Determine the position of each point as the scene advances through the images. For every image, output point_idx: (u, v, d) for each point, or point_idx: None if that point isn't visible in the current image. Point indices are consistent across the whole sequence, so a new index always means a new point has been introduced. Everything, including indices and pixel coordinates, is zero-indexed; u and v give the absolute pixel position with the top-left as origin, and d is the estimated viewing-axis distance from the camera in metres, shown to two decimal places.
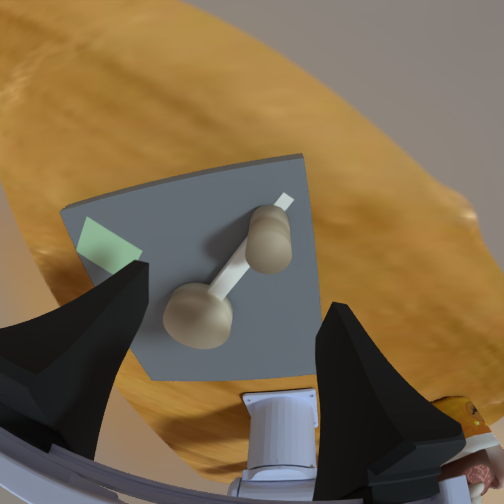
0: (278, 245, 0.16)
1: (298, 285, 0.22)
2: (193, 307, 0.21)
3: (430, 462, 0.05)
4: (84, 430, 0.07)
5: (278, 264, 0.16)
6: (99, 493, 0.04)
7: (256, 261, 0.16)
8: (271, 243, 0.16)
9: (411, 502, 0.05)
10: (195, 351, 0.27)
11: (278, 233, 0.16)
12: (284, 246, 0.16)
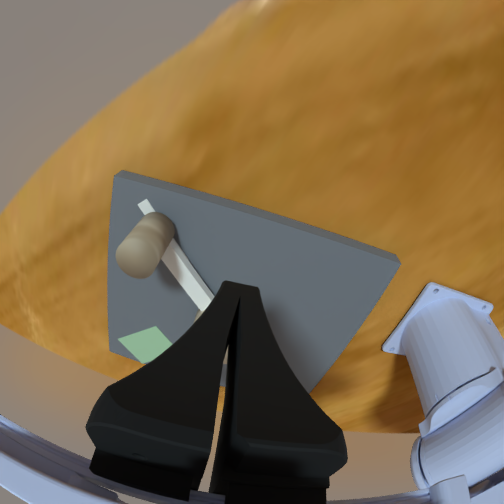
0: (127, 249, 0.16)
1: (243, 234, 0.20)
2: None
3: (301, 470, 0.05)
4: None
5: (146, 257, 0.16)
6: (99, 493, 0.04)
7: (138, 271, 0.16)
8: (124, 253, 0.16)
9: None
10: None
11: None
12: (129, 245, 0.16)
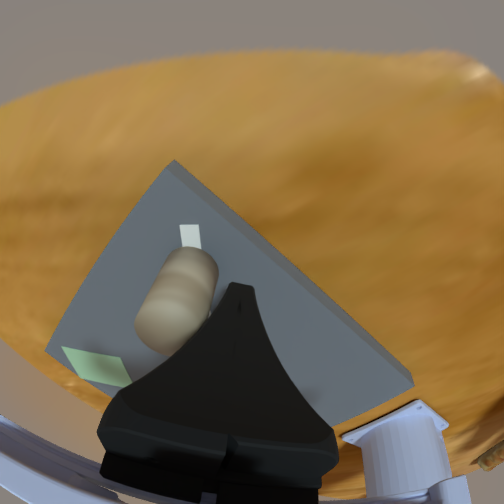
0: (164, 317, 0.10)
1: (297, 319, 0.15)
2: None
3: (292, 469, 0.05)
4: None
5: (189, 338, 0.10)
6: (99, 493, 0.04)
7: (163, 346, 0.10)
8: (155, 319, 0.10)
9: None
10: None
11: (155, 302, 0.10)
12: (171, 315, 0.09)
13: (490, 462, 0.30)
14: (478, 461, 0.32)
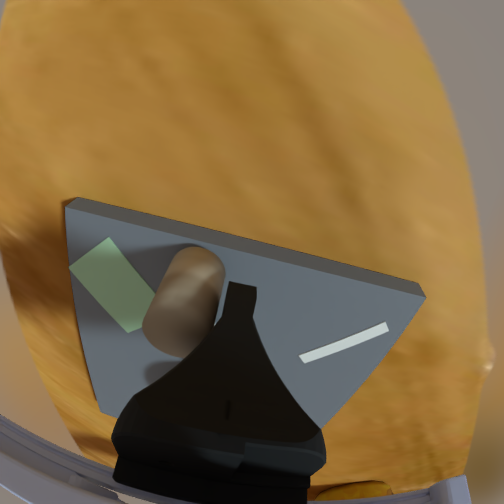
0: (174, 318, 0.10)
1: (330, 396, 0.18)
2: None
3: (279, 469, 0.05)
4: None
5: (198, 340, 0.10)
6: (99, 493, 0.04)
7: (170, 347, 0.10)
8: (164, 320, 0.10)
9: None
10: None
11: (165, 302, 0.10)
12: (181, 316, 0.09)
13: None
14: None
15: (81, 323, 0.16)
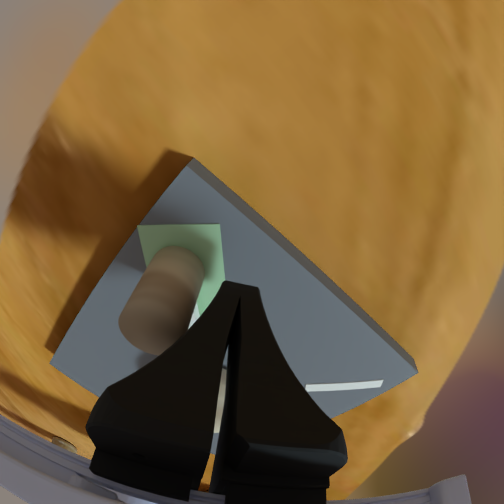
0: (146, 316, 0.10)
1: None
2: None
3: (301, 470, 0.05)
4: None
5: (172, 337, 0.10)
6: (99, 493, 0.04)
7: (148, 345, 0.10)
8: (137, 318, 0.10)
9: None
10: None
11: (137, 300, 0.10)
12: (152, 314, 0.09)
13: None
14: None
15: (103, 283, 0.14)
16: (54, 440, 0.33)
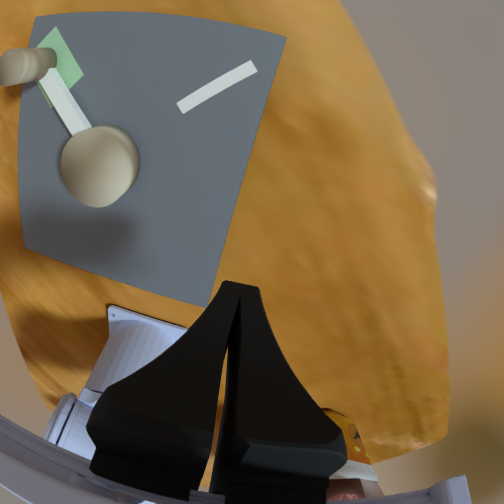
0: (4, 59, 0.11)
1: (219, 172, 0.19)
2: (68, 158, 0.16)
3: (301, 470, 0.05)
4: None
5: (15, 60, 0.11)
6: (99, 493, 0.04)
7: (9, 77, 0.11)
8: (2, 64, 0.11)
9: None
10: (79, 220, 0.21)
11: (3, 58, 0.11)
12: (5, 54, 0.11)
13: None
14: None
15: (21, 113, 0.16)
16: None
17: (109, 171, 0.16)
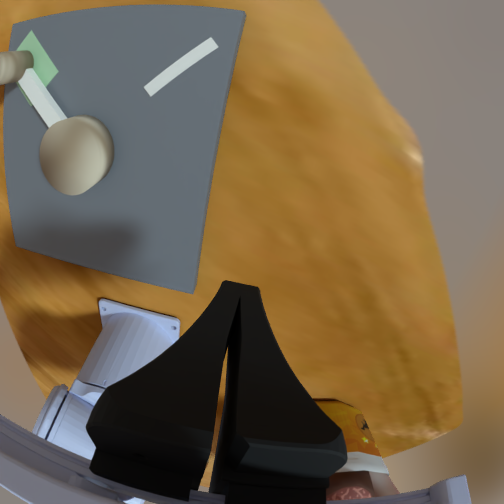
0: None
1: (190, 150, 0.18)
2: (46, 150, 0.16)
3: (301, 470, 0.05)
4: None
5: None
6: (99, 493, 0.04)
7: None
8: None
9: None
10: (63, 212, 0.21)
11: None
12: None
13: None
14: None
15: (5, 115, 0.16)
16: None
17: (83, 158, 0.16)
